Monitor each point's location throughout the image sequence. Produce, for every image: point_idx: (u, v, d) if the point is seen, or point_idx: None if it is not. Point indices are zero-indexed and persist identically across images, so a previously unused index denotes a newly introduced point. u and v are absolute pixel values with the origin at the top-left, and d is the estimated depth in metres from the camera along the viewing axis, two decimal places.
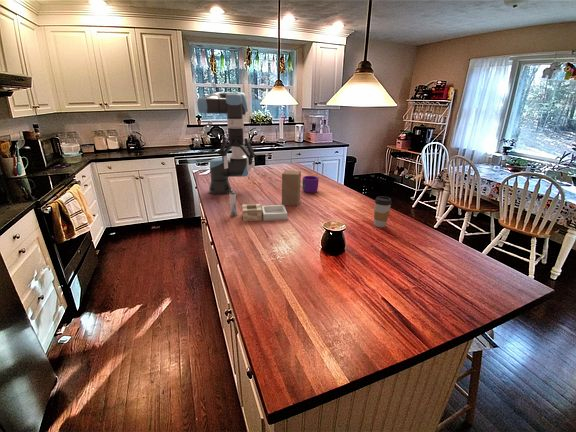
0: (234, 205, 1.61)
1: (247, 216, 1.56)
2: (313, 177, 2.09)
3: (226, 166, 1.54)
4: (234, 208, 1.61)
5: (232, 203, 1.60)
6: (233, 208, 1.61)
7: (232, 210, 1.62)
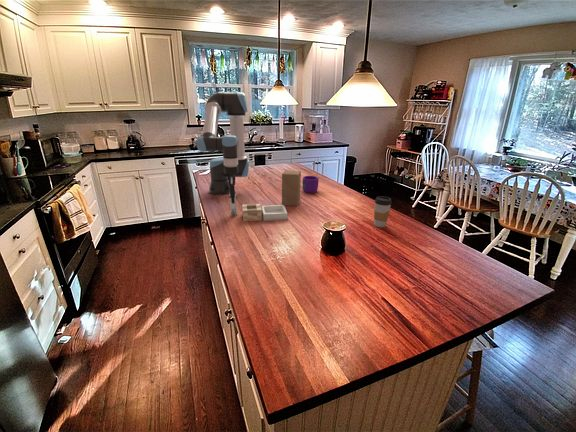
0: None
1: (247, 216, 1.56)
2: (313, 177, 2.09)
3: None
4: None
5: None
6: None
7: (232, 210, 1.62)
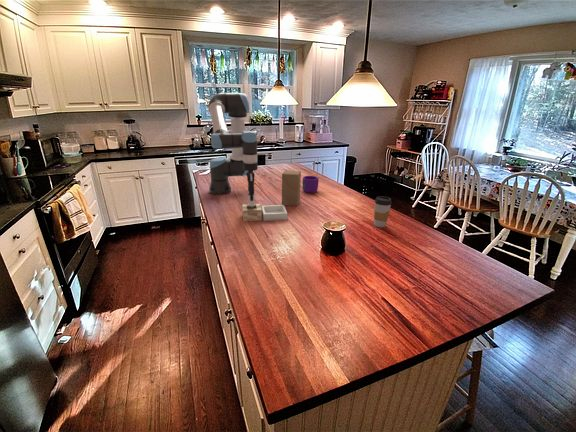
0: None
1: (247, 216, 1.56)
2: (313, 177, 2.09)
3: None
4: (252, 206, 1.59)
5: None
6: (251, 206, 1.58)
7: (250, 208, 1.59)
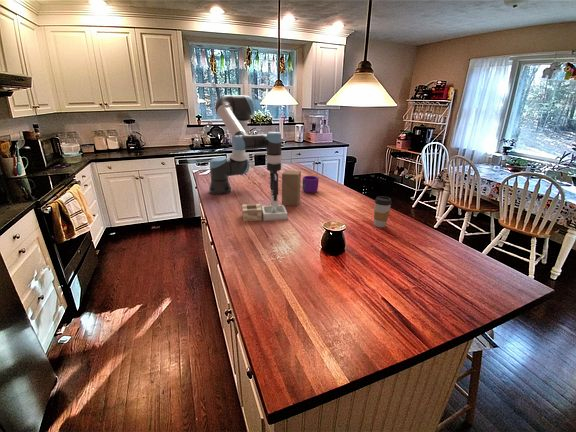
0: None
1: (247, 216, 1.56)
2: (313, 177, 2.09)
3: None
4: (275, 207, 1.61)
5: None
6: (274, 207, 1.61)
7: (273, 209, 1.61)
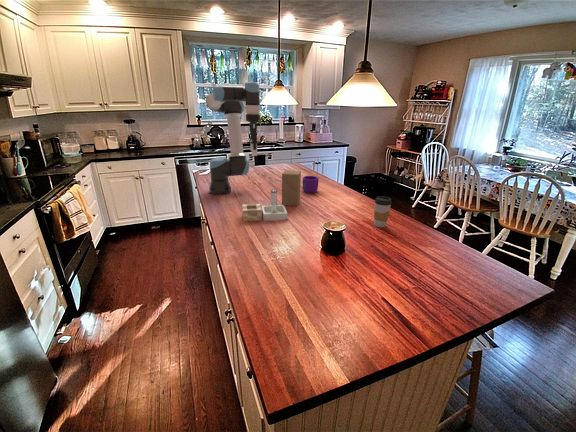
0: (275, 204, 1.61)
1: (247, 216, 1.56)
2: (313, 177, 2.09)
3: None
4: (275, 207, 1.61)
5: (273, 202, 1.60)
6: (274, 207, 1.61)
7: (273, 209, 1.61)
